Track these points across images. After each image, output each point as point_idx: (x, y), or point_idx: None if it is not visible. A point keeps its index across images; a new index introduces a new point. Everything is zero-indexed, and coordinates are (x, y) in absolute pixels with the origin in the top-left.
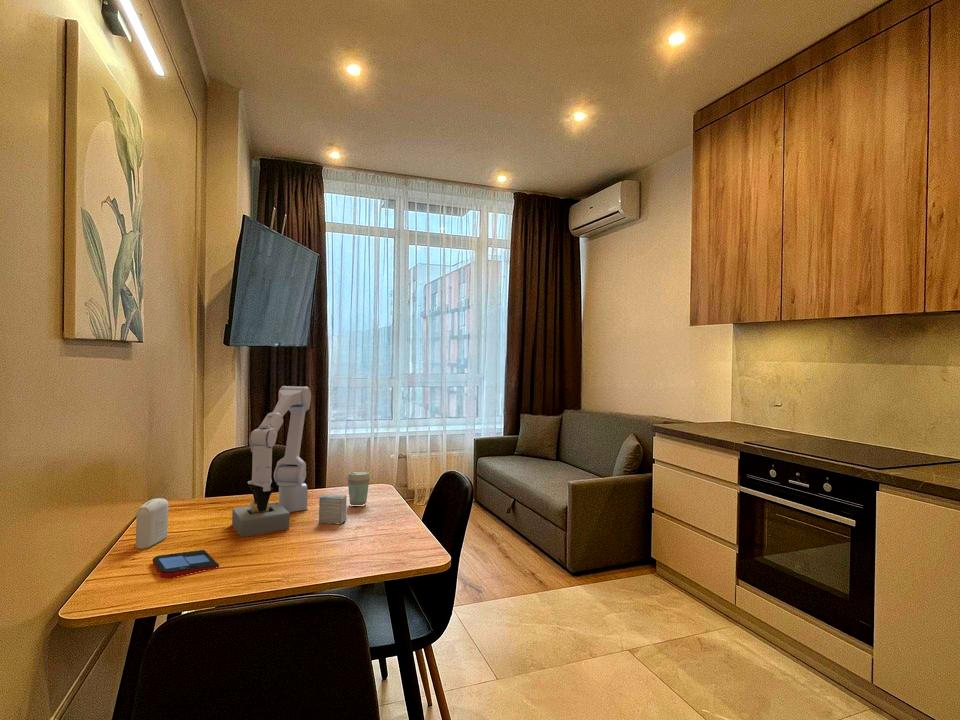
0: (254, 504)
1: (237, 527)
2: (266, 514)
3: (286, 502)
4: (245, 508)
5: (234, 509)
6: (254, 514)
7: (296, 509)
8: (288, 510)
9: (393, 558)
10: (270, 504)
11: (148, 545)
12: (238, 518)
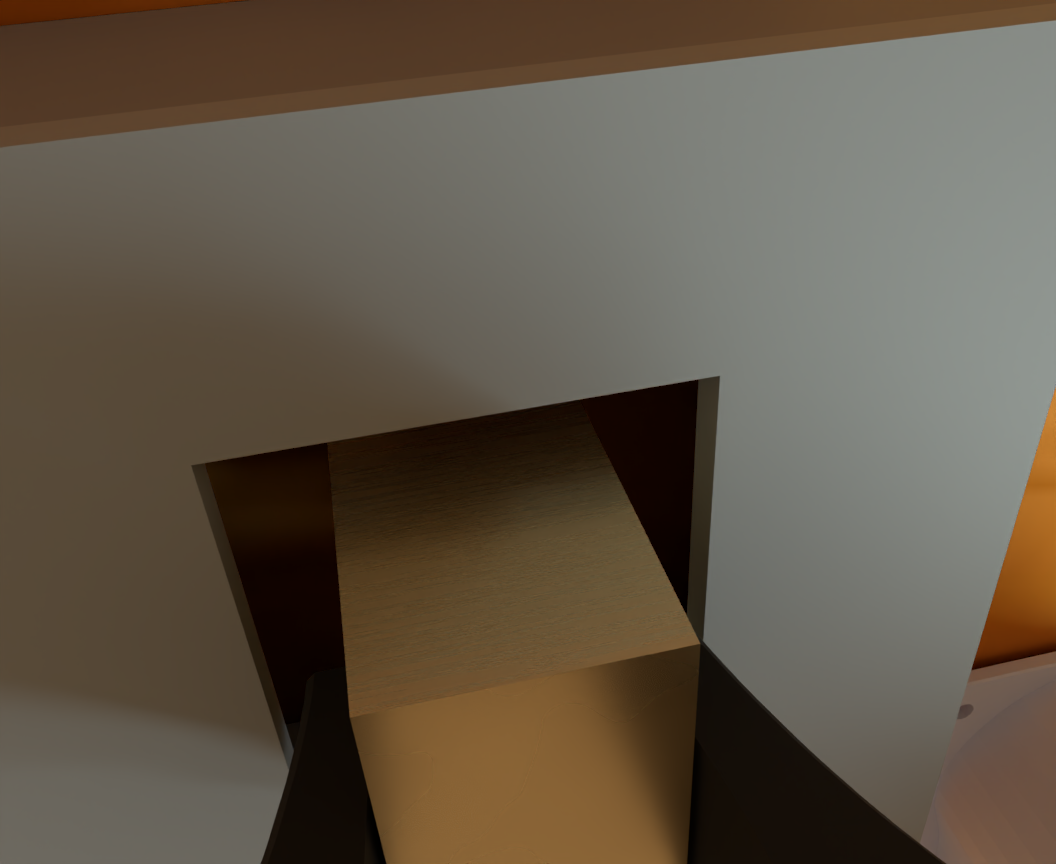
0: (358, 749)
1: (244, 24)
2: (71, 785)
3: (1044, 842)
4: (900, 359)
5: (1009, 57)
6: (160, 564)
7: (932, 823)
8: (953, 760)
9: None
10: (865, 780)
11: None
12: (99, 111)
